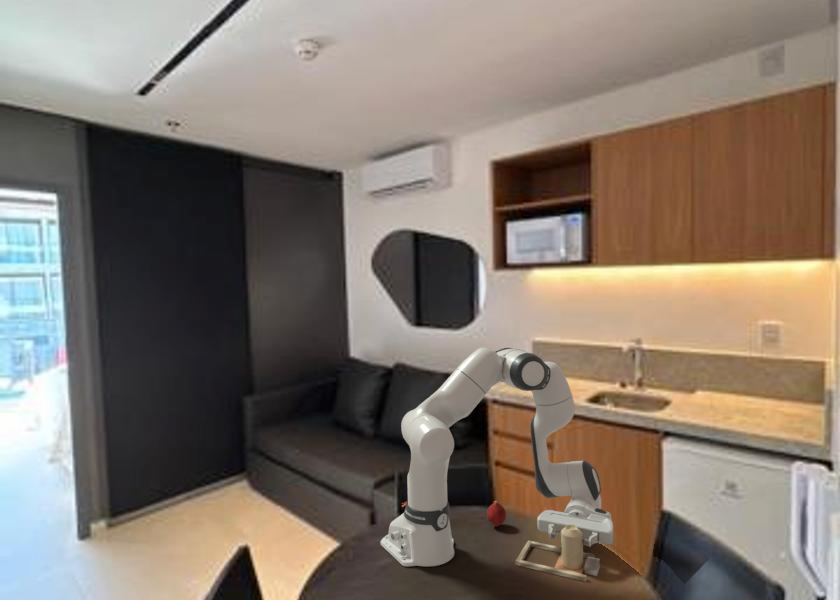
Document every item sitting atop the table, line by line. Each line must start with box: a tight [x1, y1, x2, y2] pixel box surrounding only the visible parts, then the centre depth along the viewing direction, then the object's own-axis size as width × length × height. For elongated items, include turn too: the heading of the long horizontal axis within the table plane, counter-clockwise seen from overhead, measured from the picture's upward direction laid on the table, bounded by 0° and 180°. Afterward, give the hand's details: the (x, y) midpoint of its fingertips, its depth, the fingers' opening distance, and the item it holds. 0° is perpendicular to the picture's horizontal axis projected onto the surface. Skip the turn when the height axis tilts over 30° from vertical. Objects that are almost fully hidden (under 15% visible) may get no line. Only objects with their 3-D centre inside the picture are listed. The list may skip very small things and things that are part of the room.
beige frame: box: [514, 539, 601, 582], centre depth 136 cm, size 20×12×2 cm, turn 62°
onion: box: [486, 500, 507, 528], centre depth 157 cm, size 6×6×8 cm
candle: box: [560, 525, 584, 570], centre depth 134 cm, size 6×6×10 cm
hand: (569, 539), depth 133 cm, fingers open, 8 cm apart
